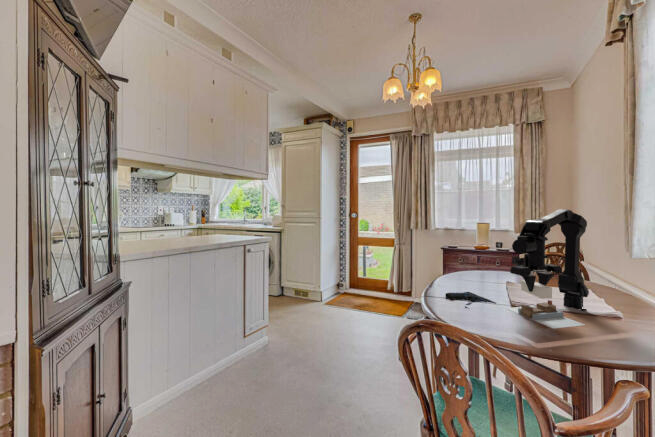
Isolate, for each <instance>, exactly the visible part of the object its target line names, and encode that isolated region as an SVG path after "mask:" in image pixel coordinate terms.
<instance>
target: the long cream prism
mask: <svg viewBox="0 0 655 437" xmlns="http://www.w3.org/2000/svg"><path fill="white" fill-rule="evenodd" d="M520 282H521V284H520V288H521V289H520V290H521V291H523V292H526V293H527V294H530V295H533V296H534V297H535V298H536V297H537V298H538V299H543V300H544V299H546V300H547V299H549V300H550V299H552V298H553V288H552V287H550V286H548V285H546V286H545V285H543V284H540V283H539V282H538V281H535V283H534V288H533V291H532V292H530V291H529V290H528V287H527V285H526V282H525V280H524V279H523V280H521V281H520Z"/></svg>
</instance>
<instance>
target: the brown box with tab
mask: <svg viewBox="0 0 655 437" xmlns="http://www.w3.org/2000/svg"><path fill="white" fill-rule="evenodd" d="M530 306H531V305H526V304H521V306H520V307H521V316H522V315H523V317H525V316H526V317H525V318H527V317H528V318H527V319H529V318H532V314H536V313H546V312H556V309H557V305H555V304H553V300H550V299H549V300H547V302H540V303H536V306H537V307H533V308H532V307H530Z"/></svg>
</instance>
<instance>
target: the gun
mask: <svg viewBox="0 0 655 437" xmlns="http://www.w3.org/2000/svg"><path fill="white" fill-rule="evenodd" d="M445 297H446V298H447V299H449V300H451V301H452V300H466V301H469V303H468V302H467V303H466V304H464V305H465V306H464V308H466V309H469V310H470V307H469V306H470V305H472V304H473V303H482V302H483V303H486V304H487V303H489V304H490V303H492V304H495V305H496V304H497V302H495V301H494V300H493V301H492V300H491V299H488V298H486V297H483V296H480V295H478V294H476V293H473V292H470V291H464V292H446V293H445Z"/></svg>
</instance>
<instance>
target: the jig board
mask: <svg viewBox="0 0 655 437" xmlns="http://www.w3.org/2000/svg"><path fill="white" fill-rule="evenodd" d="M529 306H530V307H532V308H533V307H537V305H529ZM505 309H506V310H508V311H511V312H514V313H516V314H518V315H521V306H514V307H506V308H505ZM564 315H565V314H564V311H562V310H559V309H557V308H556V312H546V313H536V314H532V318H528V317H526V316H523V315H521V316H523V317H525V318H527V319H529V320H532V321H535V322H537V323H538V324H541V325H544V326H546V327H548V328H551V329H553V330H554V329H561V328H563V329H564V328H571V327H572V328H573V327H581V326H585V323H581V322H579V321H576V320H574V319H571V318H569V317H565V316H564Z"/></svg>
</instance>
